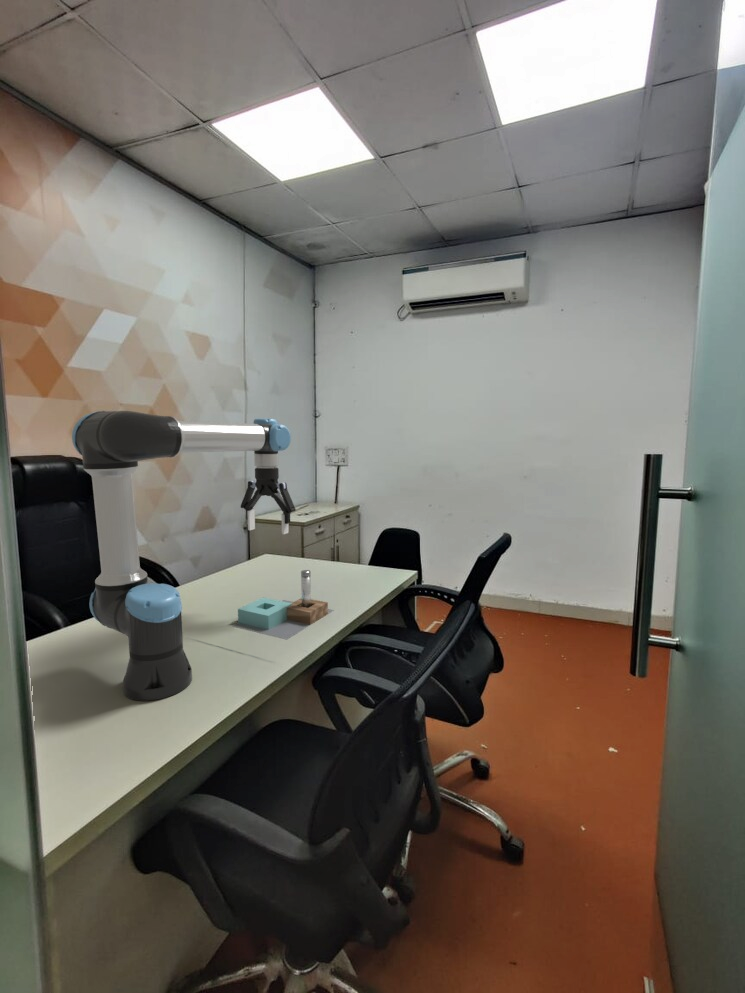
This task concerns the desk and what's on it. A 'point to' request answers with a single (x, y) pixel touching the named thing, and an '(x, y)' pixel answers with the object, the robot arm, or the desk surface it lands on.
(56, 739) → the desk surface
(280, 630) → the mat
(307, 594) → the pin
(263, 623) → the socket
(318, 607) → the block
